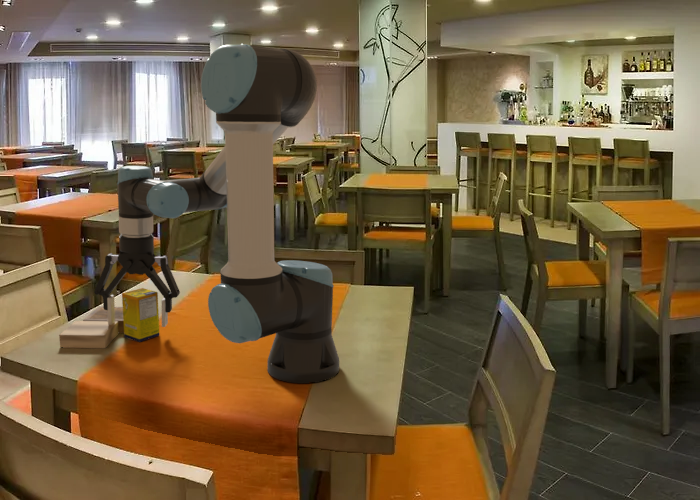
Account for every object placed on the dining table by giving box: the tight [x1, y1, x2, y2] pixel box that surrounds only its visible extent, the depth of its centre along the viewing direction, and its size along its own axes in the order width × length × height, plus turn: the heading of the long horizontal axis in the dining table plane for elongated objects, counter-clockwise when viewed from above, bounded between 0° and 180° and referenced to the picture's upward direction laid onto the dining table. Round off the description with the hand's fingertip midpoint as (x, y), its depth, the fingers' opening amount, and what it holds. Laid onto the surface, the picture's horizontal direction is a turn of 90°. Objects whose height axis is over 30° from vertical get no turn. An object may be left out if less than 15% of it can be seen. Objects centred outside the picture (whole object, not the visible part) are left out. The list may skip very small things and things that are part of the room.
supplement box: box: [121, 287, 160, 343], centre depth 158 cm, size 6×6×11 cm
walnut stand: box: [82, 306, 124, 334], centre depth 166 cm, size 11×11×3 cm
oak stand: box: [58, 320, 120, 349], centre depth 156 cm, size 10×10×3 cm
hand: (138, 324), depth 159 cm, fingers open, 12 cm apart
